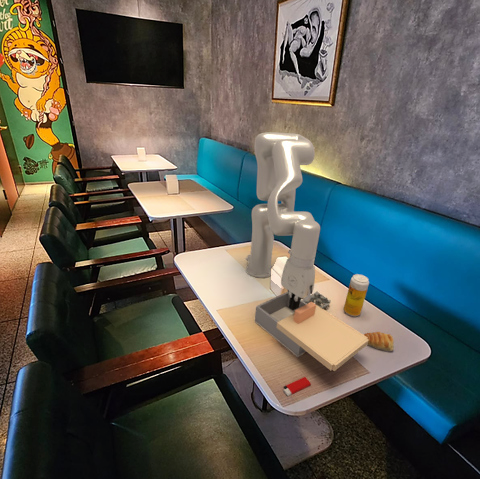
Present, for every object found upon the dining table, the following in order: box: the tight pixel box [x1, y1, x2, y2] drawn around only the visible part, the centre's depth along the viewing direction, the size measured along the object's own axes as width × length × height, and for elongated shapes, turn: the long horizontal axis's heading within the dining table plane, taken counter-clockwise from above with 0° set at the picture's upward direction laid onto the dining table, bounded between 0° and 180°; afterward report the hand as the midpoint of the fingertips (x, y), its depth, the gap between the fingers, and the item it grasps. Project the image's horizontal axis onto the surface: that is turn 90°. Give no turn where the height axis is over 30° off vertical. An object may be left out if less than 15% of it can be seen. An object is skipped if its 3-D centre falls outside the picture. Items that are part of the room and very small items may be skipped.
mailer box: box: [254, 291, 308, 358], centre depth 102 cm, size 20×16×6 cm
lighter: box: [283, 376, 312, 398], centre depth 82 cm, size 3×1×8 cm
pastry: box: [363, 331, 395, 352], centre depth 99 cm, size 9×7×4 cm
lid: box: [276, 302, 369, 372], centre depth 92 cm, size 21×18×6 cm
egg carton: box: [301, 291, 332, 310], centre depth 115 cm, size 11×8×4 cm
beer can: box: [343, 273, 370, 317], centre depth 111 cm, size 6×6×15 cm
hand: (293, 307), depth 100 cm, fingers closed
